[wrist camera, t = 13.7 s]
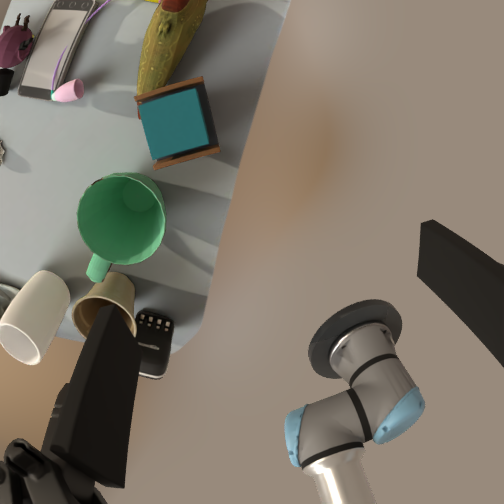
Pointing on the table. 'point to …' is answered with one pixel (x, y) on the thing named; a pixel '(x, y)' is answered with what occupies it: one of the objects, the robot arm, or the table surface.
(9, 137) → the table surface
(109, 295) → the flower pot
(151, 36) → the ocarina
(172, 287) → the table surface
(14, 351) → the cup
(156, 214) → the mug
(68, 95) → the earplug
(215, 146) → the base
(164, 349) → the battery charger
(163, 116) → the teal cube
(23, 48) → the figurine
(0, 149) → the grey jagged fragment
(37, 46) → the smartphone
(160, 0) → the pencil
